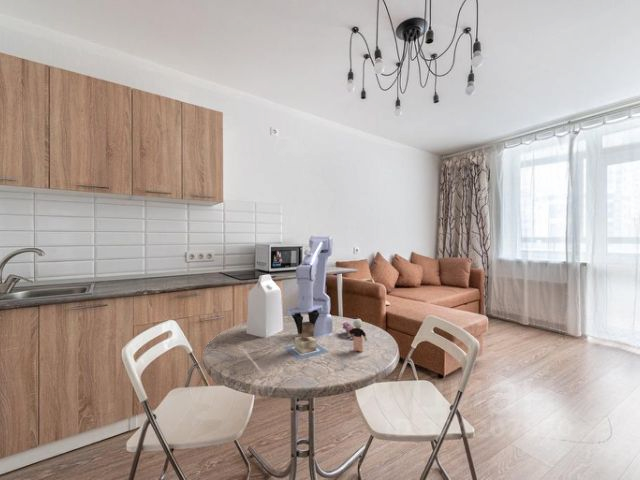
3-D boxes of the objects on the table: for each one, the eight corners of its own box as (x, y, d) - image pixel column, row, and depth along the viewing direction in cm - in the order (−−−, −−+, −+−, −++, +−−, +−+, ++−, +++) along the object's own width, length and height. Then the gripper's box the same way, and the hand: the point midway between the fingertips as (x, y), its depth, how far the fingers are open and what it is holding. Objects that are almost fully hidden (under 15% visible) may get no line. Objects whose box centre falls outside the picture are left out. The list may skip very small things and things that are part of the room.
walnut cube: (308, 332, 114) (308, 321, 114) (313, 336, 110) (313, 324, 110) (297, 334, 111) (297, 323, 111) (303, 338, 107) (303, 326, 107)
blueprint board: (312, 342, 120) (312, 340, 120) (329, 353, 108) (329, 351, 108) (283, 348, 113) (283, 346, 113) (298, 361, 102) (298, 359, 102)
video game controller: (346, 335, 132) (339, 322, 132) (355, 330, 133) (348, 317, 132) (350, 343, 122) (343, 329, 122) (360, 338, 123) (353, 324, 122)
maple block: (308, 345, 115) (308, 335, 115) (316, 350, 110) (316, 340, 110) (295, 348, 112) (295, 338, 112) (302, 353, 107) (302, 343, 106)
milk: (264, 326, 141) (264, 272, 140) (283, 330, 135) (283, 274, 134) (246, 333, 130) (246, 275, 130) (266, 337, 125) (265, 277, 124)
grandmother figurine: (368, 351, 110) (368, 318, 110) (366, 355, 107) (366, 321, 106) (348, 348, 113) (348, 316, 113) (346, 352, 109) (346, 319, 109)
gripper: (292, 300, 103) (293, 338, 103) (327, 296, 111) (327, 331, 111) (284, 296, 109) (284, 332, 109) (317, 292, 117) (317, 326, 117)
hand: (305, 331), depth 111 cm, fingers closed on walnut cube, 4 cm apart
